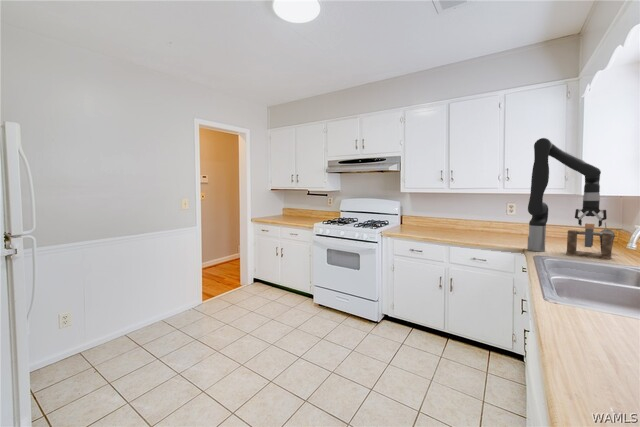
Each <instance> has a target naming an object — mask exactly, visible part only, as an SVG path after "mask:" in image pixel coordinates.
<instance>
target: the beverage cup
mask: <svg viewBox="0 0 640 427" xmlns="http://www.w3.org/2000/svg"><path fill="white" fill-rule="evenodd" d="M604 226H605V229H602V230H601V231H600V232H599V233H603V232H607V233H613V236H612V247H613V245H614V240H615V237H616V235H615V232H614V231H613V230H612V229H609V228H608V229H607V221H606V222H604ZM599 240H600V241H599V244H600V253H602V236H599Z"/></svg>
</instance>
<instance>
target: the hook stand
mask: <svg viewBox="0 0 640 427" xmlns="http://www.w3.org/2000/svg"><path fill="white" fill-rule="evenodd" d="M578 235H583V236H585V230H584V231H580V230H576V229H575V230H573V229H568V230H567V240H566V242H567V243H566V253H565V255H567V256H576V257H583V256H585V258H592V257H593V259H594V258H595V259H602V260H611V259H612V257H613V256H612V254H613V253H612V251H613V246H612V236H613V233H607V232H603V233H600V232H597V231H593V232H592V235H593V236H595V237H596V236H597V237H600V236H602V253H601V252H593V251H592V252H590V251H581V250H577V249H578V248H577V243H578Z"/></svg>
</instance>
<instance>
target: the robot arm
mask: <svg viewBox="0 0 640 427" xmlns="http://www.w3.org/2000/svg"><path fill="white" fill-rule="evenodd" d="M533 151H534V156H533V157H534V159H533V165H532V170H531V171H532V173H531V181H530V182H531V183H530V196H529V199H528V204H527V211H528V213H529V215H531V219H530V220H529V222H528V225H529V226H528V236H527V251H533V252H545V251H546V236H547V232H546V231H547V222H548V218H549V206H548V203H546V202H543V201H544V200H543V199H544V193H545V191H546V189H547V186H548V185H549V178H550V167H549V166H550V165H549V157H551V158H553V159H555V160H556V161H558V162H559V163H561V164H563V165H564V166H566V167H568V168H570V169H571V170H573V171H576V172H578V173H580V174H581V175H582V176H584V187H583V196H582V209H581V208H580V209H579V208H576V209H575V212H574V219H577V220H578V222H577V223H578V225H579V226H582V222H583V218H584V217H585V216H586V217H596V218H597V219H598V224H597V225H598V227H599V228H601V227H602V225H603V221H605V220H607V210H606V209H600V200H601V194H600V192H601V190H600V189H601V185H600V181H601V172H602V171H601V169H600V168H599V167H596V165H595V166H594V165H593V164H590V163H588V162H586V161H585V160H583V159H581V158H579V157H577V156H575V155H573V154H572V153H569V152H567V151H565V150H563V149H561V148H559V147H558V146H556V145H555V144H554V143H553V142H552V141H551V140H550V139H549V138H547V137H541V138H539V139H537V140H536V141H534V144H533ZM581 212H582V215H580V216H579V213H581ZM599 213H601V214H603V217H601V216H600V215H599Z"/></svg>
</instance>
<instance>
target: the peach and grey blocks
mask: <svg viewBox="0 0 640 427" xmlns="http://www.w3.org/2000/svg"><path fill="white" fill-rule="evenodd" d="M595 225H596V224H595V223H587V222H586V223H584V229H585V230H584V232H585V235H584V248H592V247H593V245H594V235H592V232H595V231H594V229H595Z"/></svg>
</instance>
